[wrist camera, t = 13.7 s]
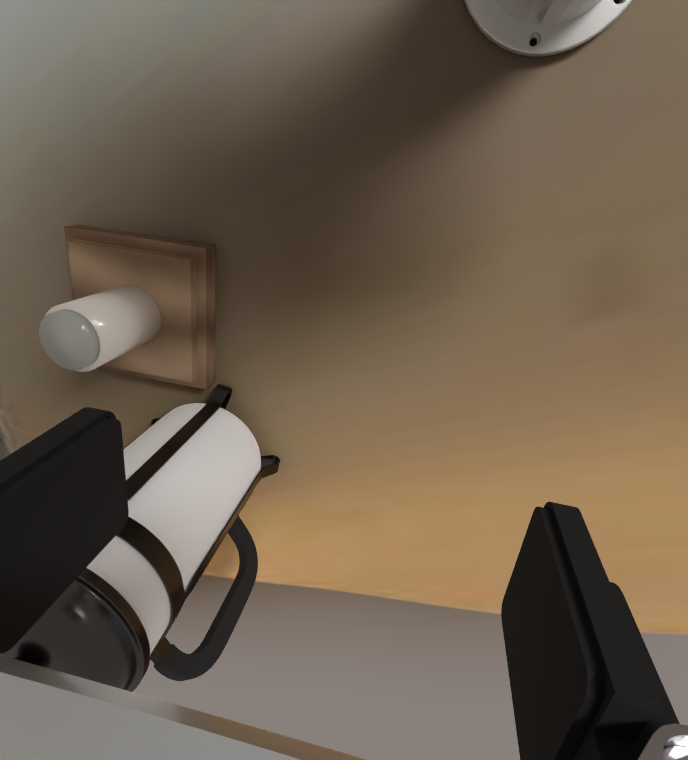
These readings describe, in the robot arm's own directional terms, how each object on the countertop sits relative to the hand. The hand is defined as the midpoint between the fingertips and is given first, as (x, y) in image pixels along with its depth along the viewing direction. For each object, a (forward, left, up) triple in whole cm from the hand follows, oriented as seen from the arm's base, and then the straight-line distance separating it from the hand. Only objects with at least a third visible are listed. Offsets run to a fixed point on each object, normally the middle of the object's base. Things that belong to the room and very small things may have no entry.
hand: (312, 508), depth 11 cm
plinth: (+8, -25, -34) cm, 43 cm away
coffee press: (+23, -17, -34) cm, 45 cm away
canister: (+8, -25, -31) cm, 41 cm away
